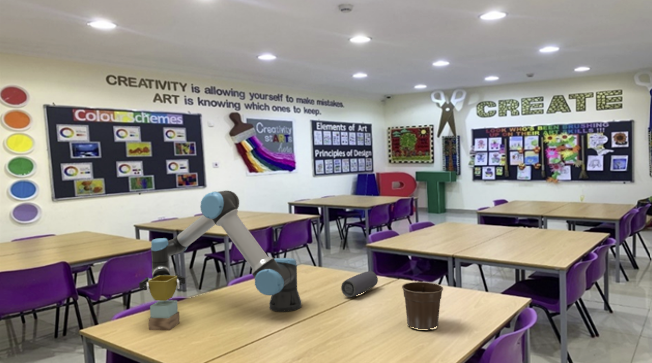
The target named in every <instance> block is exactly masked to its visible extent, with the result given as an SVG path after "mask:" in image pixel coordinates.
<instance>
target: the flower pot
mask: <svg viewBox="0 0 652 363" xmlns="http://www.w3.org/2000/svg"><path fill="white" fill-rule="evenodd" d="M150 279H151V280H149V281H148V284H149V294H151V297H152V298H153V299H154V301H159V300H160V301H166V300H170V299H171V298H172V297H173V296H174V295H175V292H176V290H177V276H174V275H171V276H157V277H155V278H153V279H152V278H150Z"/></svg>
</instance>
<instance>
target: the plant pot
mask: <svg viewBox="0 0 652 363" xmlns="http://www.w3.org/2000/svg"><path fill="white" fill-rule="evenodd" d="M401 289H402V291H403V297H404V301H405V312H406V323H407V324H408V325H409V326H411V327H414V328H418V329H430V328H434V327H436V326H438V327H439V320H440V319H439V317H440V308H441V307H440V306H441V300H442V294H443V291H444V287H443V286H442V285H440V284H438V283H434V282H425V281H414V282H413V281H412V282H407V283H404V284H403V285H402V286H401ZM408 325H407V326H408Z"/></svg>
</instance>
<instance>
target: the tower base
mask: <svg viewBox="0 0 652 363" xmlns="http://www.w3.org/2000/svg"><path fill="white" fill-rule="evenodd" d="M178 324H180V311H178V312H177V313H176V314H174V315H173V316H171V317H170V318H151V317H149V318H148V330H149V331H171V330H172V329H173V328H174V327H176V326H177V325H178Z"/></svg>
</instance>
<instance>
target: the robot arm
mask: <svg viewBox="0 0 652 363" xmlns="http://www.w3.org/2000/svg"><path fill="white" fill-rule="evenodd" d="M239 207H240V198H239V196H238V195H237V194H236V193H235V192H233V191H232V190H220V191H212V192H208V193H206V194H205V195H203V197H202V199H201V200H200V211H201V214H202V215H201V216H199V217H198V218H197V219H196V220H194V221H193V222H192V223H190V224H189V225H188V226H187V227H186V228H184V230H182V231H181V232H179V234H177V235H176V236H175V237H173V239H170V240H169V239H168V238H166V237H163V238H155V239H152V240H151V242H150V243H151V245H150V251H151V274H152V277H151V278H150V277H147V276H145V278H144V279H143V280H141V281H140V282H139V283H138V284H139V285H138V287H139V290H142V289H143V290H144V291H146V293H147V294H148V293H150V289H149V284H148V281H149V280H151V279H153V278H155V277H157V276H172V275H171V273H170V268H169V267H170V265H169V264H170V263H169V257H170V256H173V255H177V254H182V253H183V252H186V250H187V249H188V248H189V246H191V244H192V243H194V242H195V241H197V239H199V238H200V237H201V236H203V235H204V234H205V233H207V232H208V231H209V230H210V229H212V228H214V226H215V225H216V226H219V227H221V228H222V229H223V231H224V232H225V234H226V235H227V236H228V237H229V238H230V240H231V241H232V243H233V244H234V246H235V248H236V249H237V250H238V251H239V252H240V253H241V255H242V257H243V258H244V260H245V261H246V262H247V263H248V265H249V266H250V267H251V269H252V270H251V275H252V276H253V277H254V286H255V288H256V289H257V291H258V292H259V293H261V295H262V294H263V295H264V296H270V300H269V303H268V305H269V310H270V311H273V312H283V313H284V312H292V311H296V310H299V309H300V308H302V299H301V296H300V293H299V291H298V269H297V268H298V265H297V260H296V259H295V258H290V257H277V258H274V257H271V256H268V255H267V253H266V252H265V251H264V249H263V248H262V246H261V245H260V244H259V242H258V241H257V240H256V238H255V237H254V235H252V233H251V231H250V230H249V229H248V228H247V227H246V226H247V225H245V223H244V222H243V220H242V219H241V218H240V217H239V216H238V209H239ZM173 276H177V285H176V289H179V290H180V289H181V288H180V286H182V285H183V284H186V277H184V276H181V275H179V274H178V273H175V274H174V275H173Z"/></svg>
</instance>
